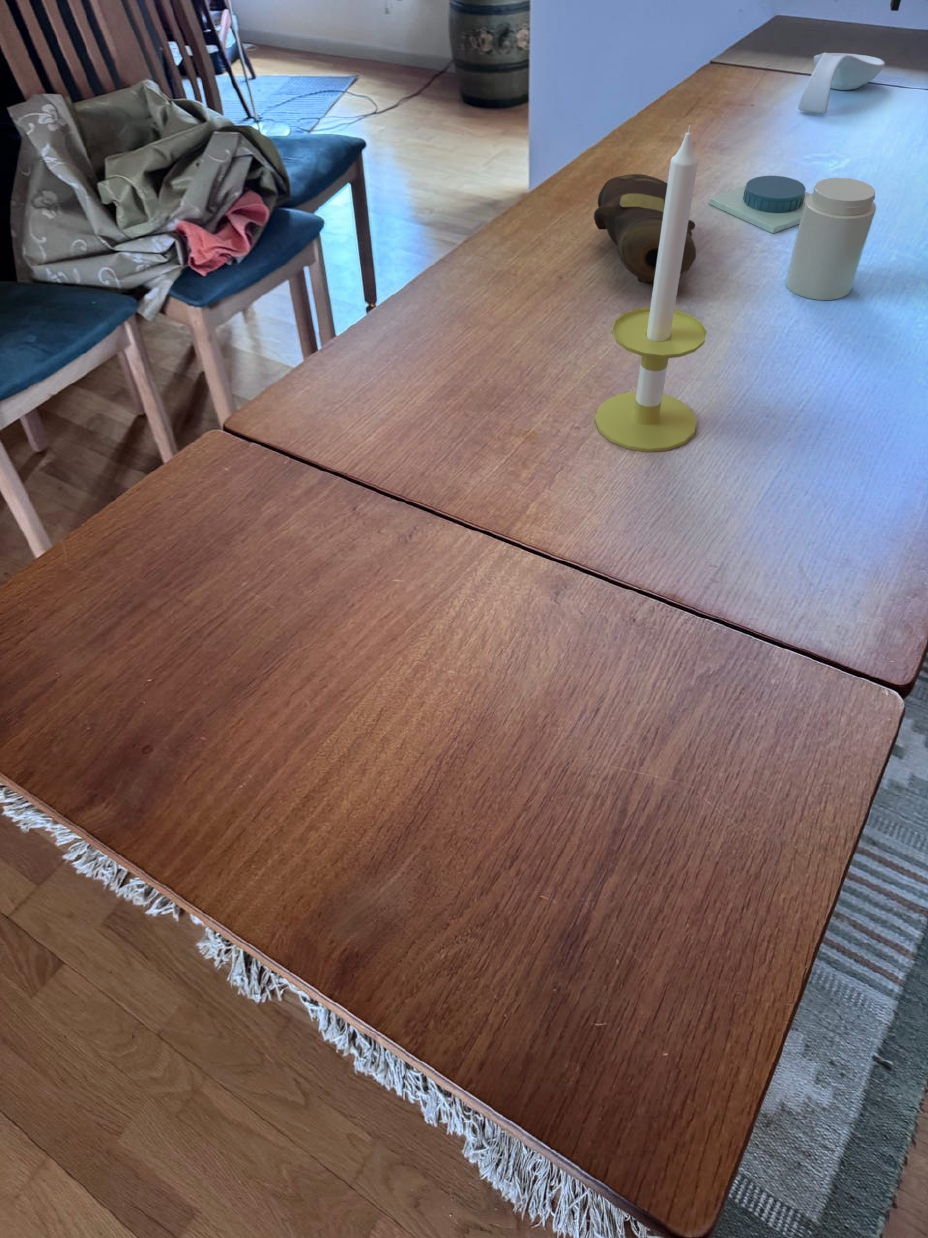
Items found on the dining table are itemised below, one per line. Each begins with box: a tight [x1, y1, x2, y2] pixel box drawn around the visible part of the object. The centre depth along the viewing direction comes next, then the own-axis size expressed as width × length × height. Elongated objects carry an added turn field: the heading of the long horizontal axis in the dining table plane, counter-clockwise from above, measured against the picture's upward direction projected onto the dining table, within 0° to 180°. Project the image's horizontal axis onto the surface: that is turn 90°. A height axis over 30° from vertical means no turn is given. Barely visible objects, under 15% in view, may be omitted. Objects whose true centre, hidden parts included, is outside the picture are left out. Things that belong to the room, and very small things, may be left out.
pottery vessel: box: [593, 173, 697, 283], centre depth 107 cm, size 12×20×8 cm, turn 177°
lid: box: [743, 175, 807, 213], centre depth 119 cm, size 8×8×2 cm
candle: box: [594, 124, 707, 453], centre depth 77 cm, size 10×10×27 cm
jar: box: [784, 177, 877, 301], centre depth 101 cm, size 8×8×11 cm
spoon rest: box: [797, 52, 886, 115], centre depth 148 cm, size 24×12×7 cm, turn 148°
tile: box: [707, 185, 812, 234], centre depth 120 cm, size 12×12×1 cm
